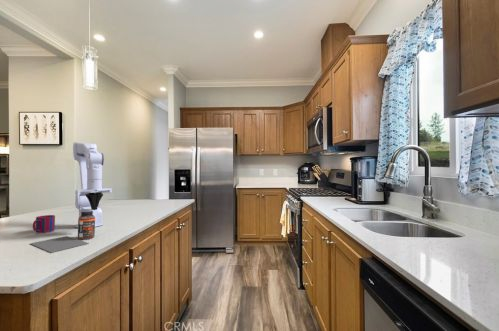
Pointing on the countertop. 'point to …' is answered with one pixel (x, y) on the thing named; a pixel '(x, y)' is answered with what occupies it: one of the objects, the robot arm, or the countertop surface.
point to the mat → (58, 244)
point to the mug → (44, 224)
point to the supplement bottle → (86, 225)
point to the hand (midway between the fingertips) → (94, 209)
